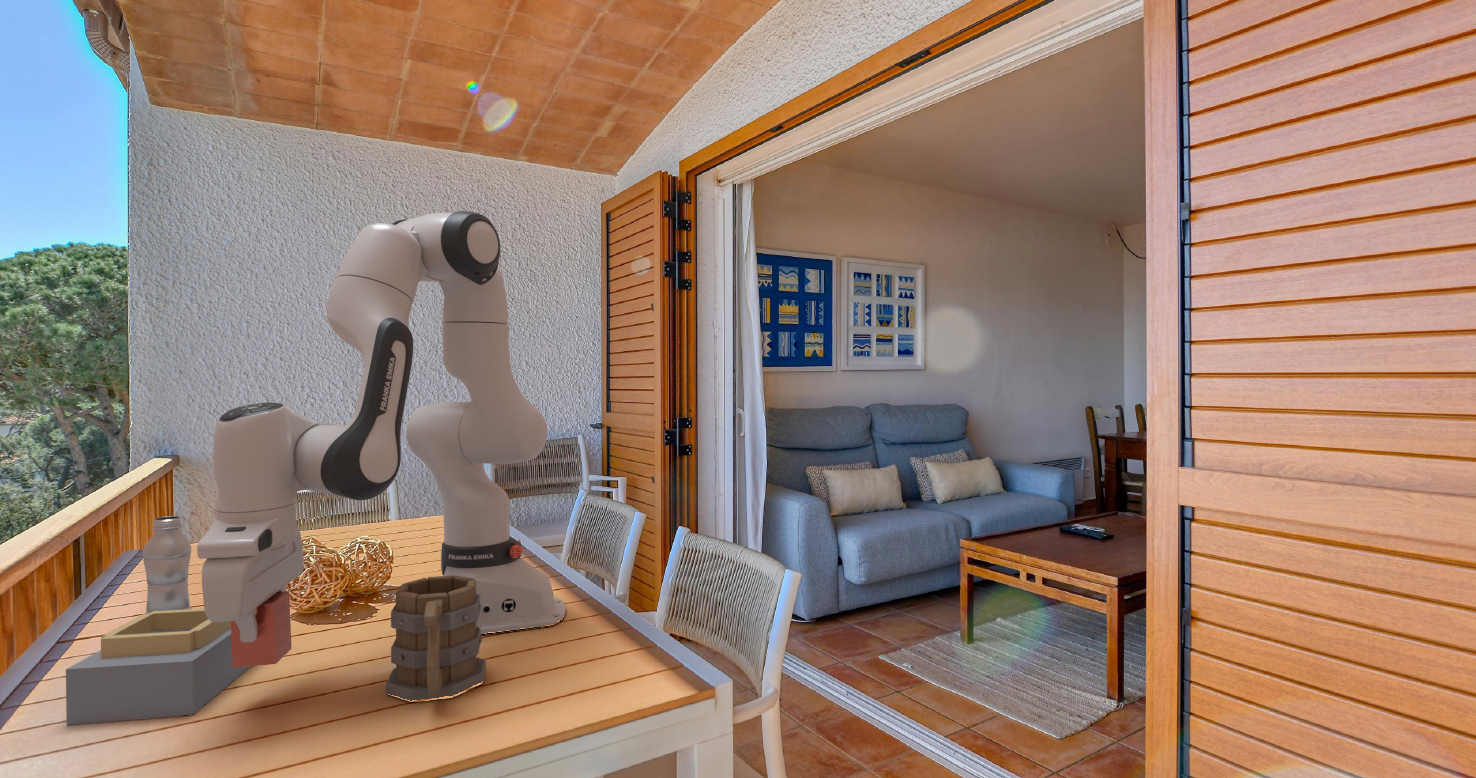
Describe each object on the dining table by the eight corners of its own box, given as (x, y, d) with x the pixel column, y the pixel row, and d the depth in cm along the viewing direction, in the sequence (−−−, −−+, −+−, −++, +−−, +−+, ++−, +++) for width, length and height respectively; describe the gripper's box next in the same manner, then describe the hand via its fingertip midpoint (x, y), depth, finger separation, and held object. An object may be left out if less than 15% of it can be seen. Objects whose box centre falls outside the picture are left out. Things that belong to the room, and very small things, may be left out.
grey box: (262, 656, 113) (262, 595, 113) (192, 714, 93) (192, 641, 93) (160, 663, 110) (159, 600, 110) (66, 724, 91) (65, 649, 91)
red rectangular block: (291, 648, 100) (289, 588, 99) (275, 663, 95) (272, 600, 94) (235, 652, 98) (232, 591, 98) (216, 668, 93) (213, 604, 93)
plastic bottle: (166, 646, 117) (165, 522, 117) (132, 643, 119) (130, 520, 118) (203, 632, 124) (202, 515, 123) (170, 629, 125) (169, 513, 125)
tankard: (397, 670, 108) (396, 569, 108) (487, 661, 111) (486, 563, 111) (368, 733, 89) (367, 611, 88) (478, 720, 92) (477, 602, 92)
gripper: (266, 511, 105) (270, 605, 106) (188, 548, 85) (194, 664, 86) (314, 509, 106) (317, 602, 107) (248, 545, 86) (253, 659, 87)
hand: (262, 630), depth 96 cm, fingers closed on red rectangular block, 5 cm apart
